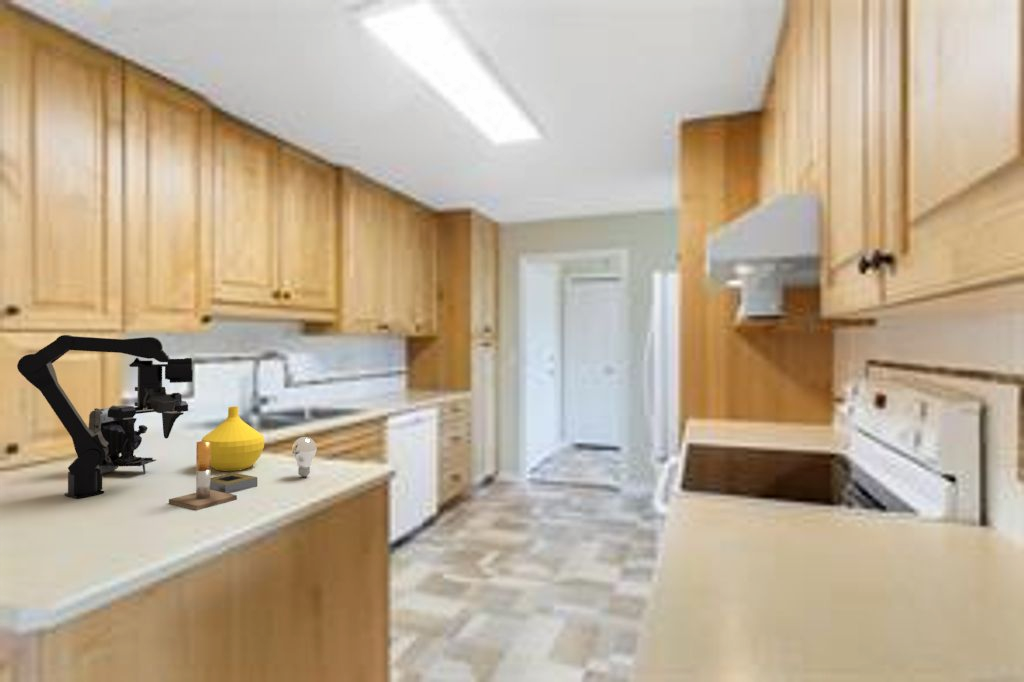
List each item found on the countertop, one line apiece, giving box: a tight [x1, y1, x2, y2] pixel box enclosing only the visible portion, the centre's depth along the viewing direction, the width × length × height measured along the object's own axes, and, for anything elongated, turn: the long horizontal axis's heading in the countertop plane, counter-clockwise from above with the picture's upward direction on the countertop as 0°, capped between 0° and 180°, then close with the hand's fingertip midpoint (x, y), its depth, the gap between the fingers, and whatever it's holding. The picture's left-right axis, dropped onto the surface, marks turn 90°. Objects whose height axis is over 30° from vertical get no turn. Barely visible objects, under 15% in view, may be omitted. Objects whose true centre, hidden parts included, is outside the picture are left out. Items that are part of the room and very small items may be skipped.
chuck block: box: [210, 472, 258, 494], centre depth 166 cm, size 10×10×2 cm
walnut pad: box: [168, 490, 238, 511], centre depth 152 cm, size 11×11×1 cm
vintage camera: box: [88, 407, 157, 475], centre depth 179 cm, size 10×15×20 cm, turn 89°
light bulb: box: [291, 436, 318, 478], centre depth 179 cm, size 7×7×12 cm
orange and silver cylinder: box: [195, 440, 212, 499], centre depth 152 cm, size 3×3×14 cm
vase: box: [201, 406, 265, 472], centre depth 189 cm, size 18×18×19 cm
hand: (149, 440), depth 163 cm, fingers open, 9 cm apart
